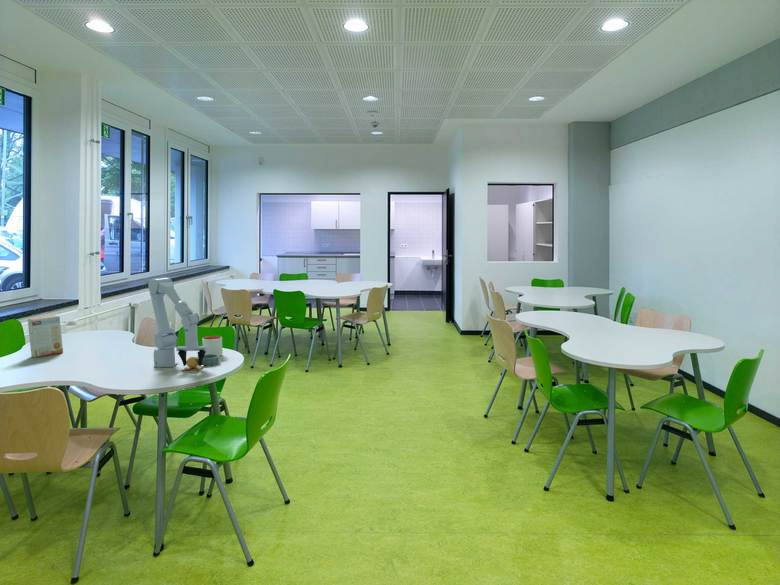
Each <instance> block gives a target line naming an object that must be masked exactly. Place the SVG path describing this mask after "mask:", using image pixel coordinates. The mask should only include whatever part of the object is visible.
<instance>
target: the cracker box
mask: <svg viewBox="0 0 780 585" xmlns="http://www.w3.org/2000/svg"><path fill="white" fill-rule="evenodd" d="M27 325H28V336H29V346H30V354H31V355H30V356H31V357H32V358H35V359H37V358H41V357H47V356H53V354H54V355H58V353H59V354H63V353H64V350H63V349H64V348H63V338H62V337H63V336H62V328H61V318H60V316H59V315H51V316H41V317H36V318H29V319H27Z"/></svg>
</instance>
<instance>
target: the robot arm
mask: <svg viewBox="0 0 780 585" xmlns="http://www.w3.org/2000/svg"><path fill="white" fill-rule="evenodd" d="M172 280H173V279H171V277H162V278H151V279H150V280H149V283H148V285H147V286H148V289H149V290H148V291H149V295H150V298H151V299H150V300H151V303H152V308H153V311H154V312H153V313H154V316H155V320H156V325H157V331H156V332H155V333H154V336H153V337H154V345H155V347H156V348H155V349H154V351H153V368H173V367H175V366H176V365H178V364H179V362H178V361H176V352H177V354H178V356H179V358H180V360H181V362H182V365H183V366H184V367H186V366H187V354H188V351H189V352H193V351H195V352H196V353H197V356H198V358H199V365H198V366H201V365H202V361H203V357H204V355H205V353H206V351H207V346H203V345H199V340H198V324H199V323H200V317H199V314H198V313H197V312H195V311H193V310H192V309H191V308H190V306H189V305H188V303H187V302H186V301H184V300H182V299H181V298H180V296H179V294H178V293H177V291H176V289H175V284H174V282H173V281H172ZM165 295H166V296H167V297H168V298H169V299H170V300H171V302H172V303H173V304H174V309H175V311H176V312H177V313H178V315H179V317H180V318H181V320H180V321H181V324H182V326H183V327H182V328H183V330H184V342H185V345H183V346H180V345H179V346H177V345H178V342H179V339H178V336H177V335H176V332H175V330H174V329H172V328H171V326H170V322H169V319H168V315H167V309H166V305H165V300H164V296H165ZM175 349H176V352H175Z"/></svg>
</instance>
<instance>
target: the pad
mask: <svg viewBox="0 0 780 585" xmlns="http://www.w3.org/2000/svg"><path fill="white" fill-rule="evenodd" d="M203 367H204V368H205V366H199V365H197V367H195V368H190V367H188V366H187V365H186V366H184V368H182V369H181V372H182V371H198V372H199V370H200V369H201V370H202V369H204V368H203ZM201 370H200V371H201Z"/></svg>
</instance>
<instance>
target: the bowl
mask: <svg viewBox="0 0 780 585" xmlns="http://www.w3.org/2000/svg"><path fill="white" fill-rule="evenodd" d="M195 357H196V358H197V359H198V361H199V358H198V355H197V356H195ZM218 362H220V356H218V355H216V354H205V355H204V357H203V361H202V365H210V366H214V365H213V364H215V365H217V363H218ZM218 364H219V363H218ZM197 366H199V363H198V365H197Z"/></svg>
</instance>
